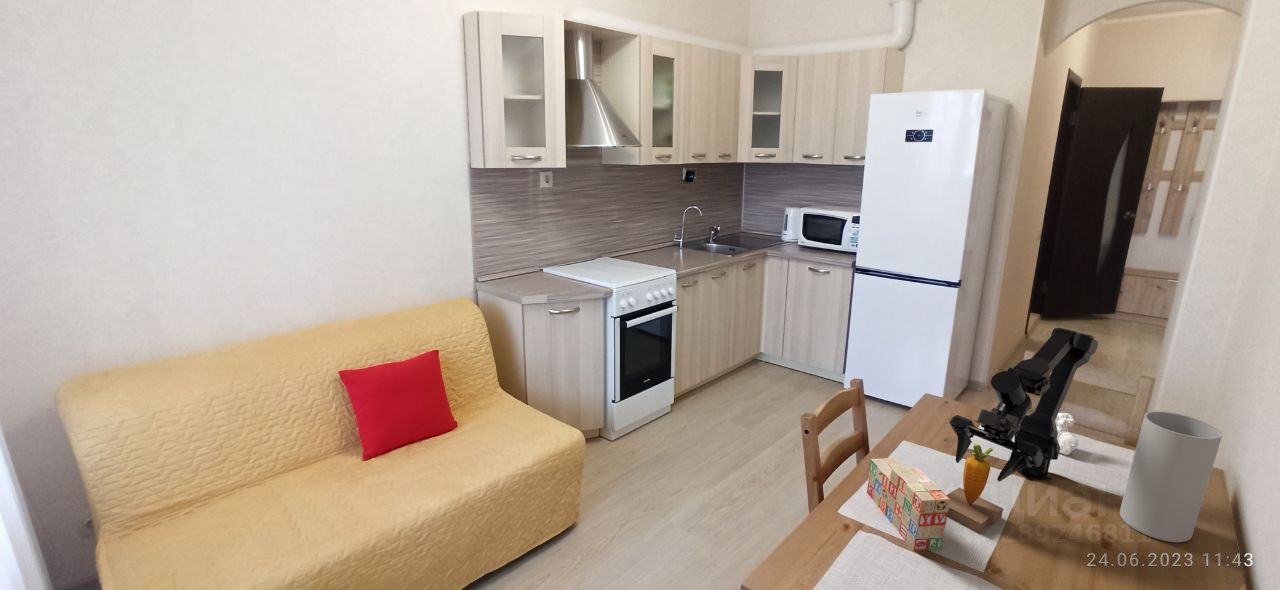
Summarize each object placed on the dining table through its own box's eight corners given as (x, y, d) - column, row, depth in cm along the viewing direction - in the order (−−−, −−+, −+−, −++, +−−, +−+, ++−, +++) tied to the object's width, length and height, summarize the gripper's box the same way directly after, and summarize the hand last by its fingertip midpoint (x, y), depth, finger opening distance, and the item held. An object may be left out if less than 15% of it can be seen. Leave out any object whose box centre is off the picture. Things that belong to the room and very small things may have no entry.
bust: (1074, 465, 163) (1099, 431, 163) (1062, 453, 160) (1087, 419, 160) (1033, 444, 174) (1056, 413, 174) (1021, 432, 171) (1044, 400, 171)
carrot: (983, 503, 137) (996, 444, 133) (979, 513, 133) (992, 453, 129) (959, 495, 140) (971, 437, 136) (955, 504, 136) (967, 445, 132)
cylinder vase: (1117, 527, 133) (1144, 425, 127) (1119, 502, 142) (1144, 406, 136) (1192, 552, 125) (1224, 445, 119) (1189, 524, 135) (1219, 423, 128)
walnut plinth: (957, 496, 143) (959, 487, 143) (1001, 518, 135) (1003, 508, 135) (934, 510, 138) (936, 500, 137) (978, 533, 130) (980, 523, 129)
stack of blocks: (865, 492, 144) (871, 446, 141) (890, 491, 145) (896, 445, 142) (913, 551, 124) (922, 499, 121) (942, 550, 125) (951, 498, 121)
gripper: (959, 382, 140) (926, 437, 137) (1047, 412, 125) (1013, 475, 122) (971, 405, 146) (940, 458, 143) (1056, 436, 132) (1024, 496, 128)
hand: (976, 471), depth 134 cm, fingers open, 9 cm apart
